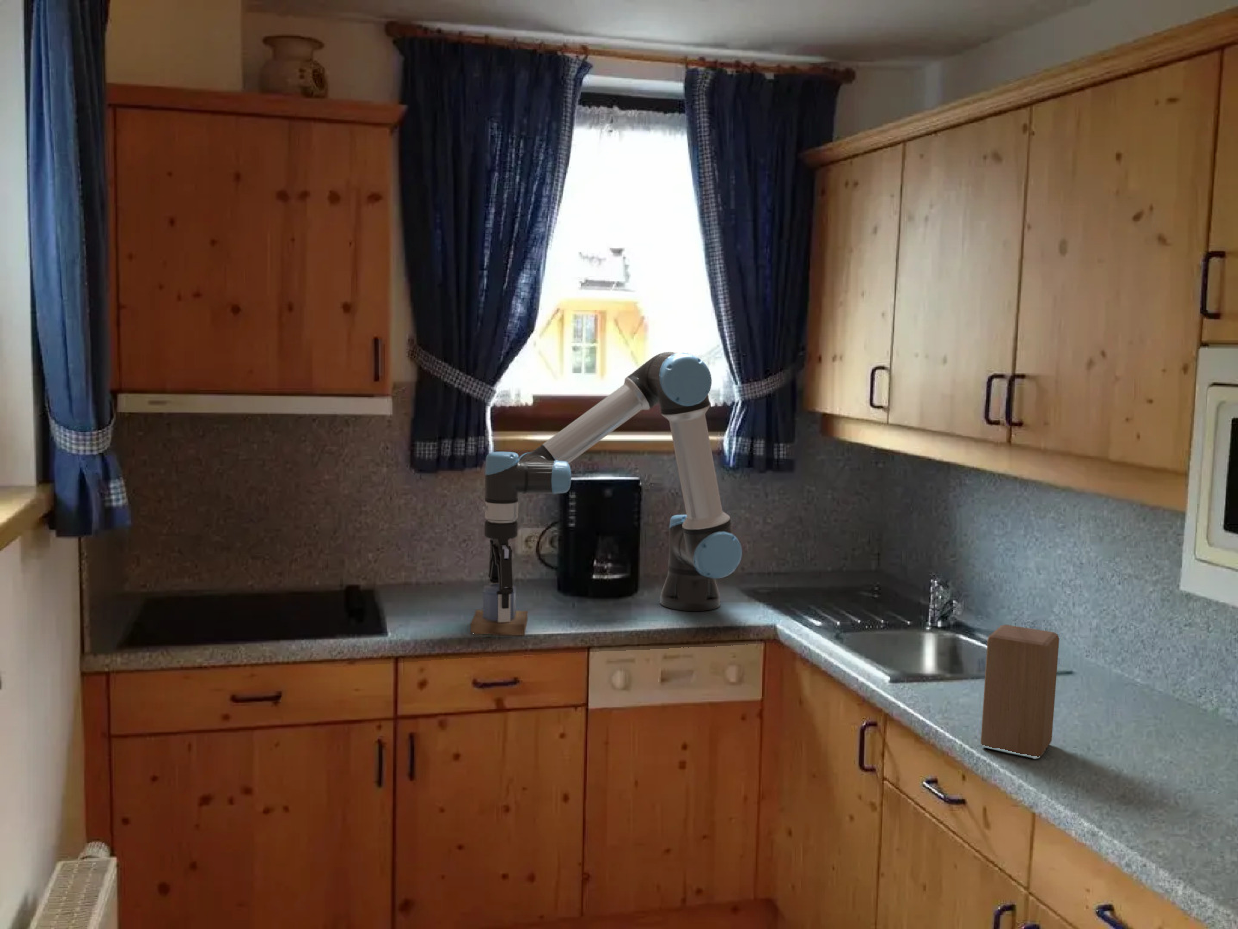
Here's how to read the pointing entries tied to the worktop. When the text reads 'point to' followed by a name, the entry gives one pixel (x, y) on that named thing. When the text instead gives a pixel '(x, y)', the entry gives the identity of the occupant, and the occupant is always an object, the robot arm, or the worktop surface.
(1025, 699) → the wooden block
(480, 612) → the stud block
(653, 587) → the worktop surface
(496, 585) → the cap
